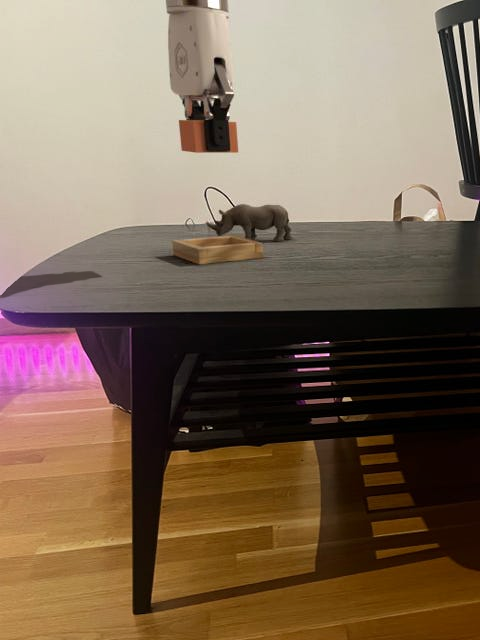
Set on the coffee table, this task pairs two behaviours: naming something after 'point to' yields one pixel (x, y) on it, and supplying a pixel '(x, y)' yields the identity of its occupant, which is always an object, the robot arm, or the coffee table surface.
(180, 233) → the coffee table surface
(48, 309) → the coffee table surface
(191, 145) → the block
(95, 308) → the coffee table surface
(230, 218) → the rhino figurine
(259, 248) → the shallow wooden tray
